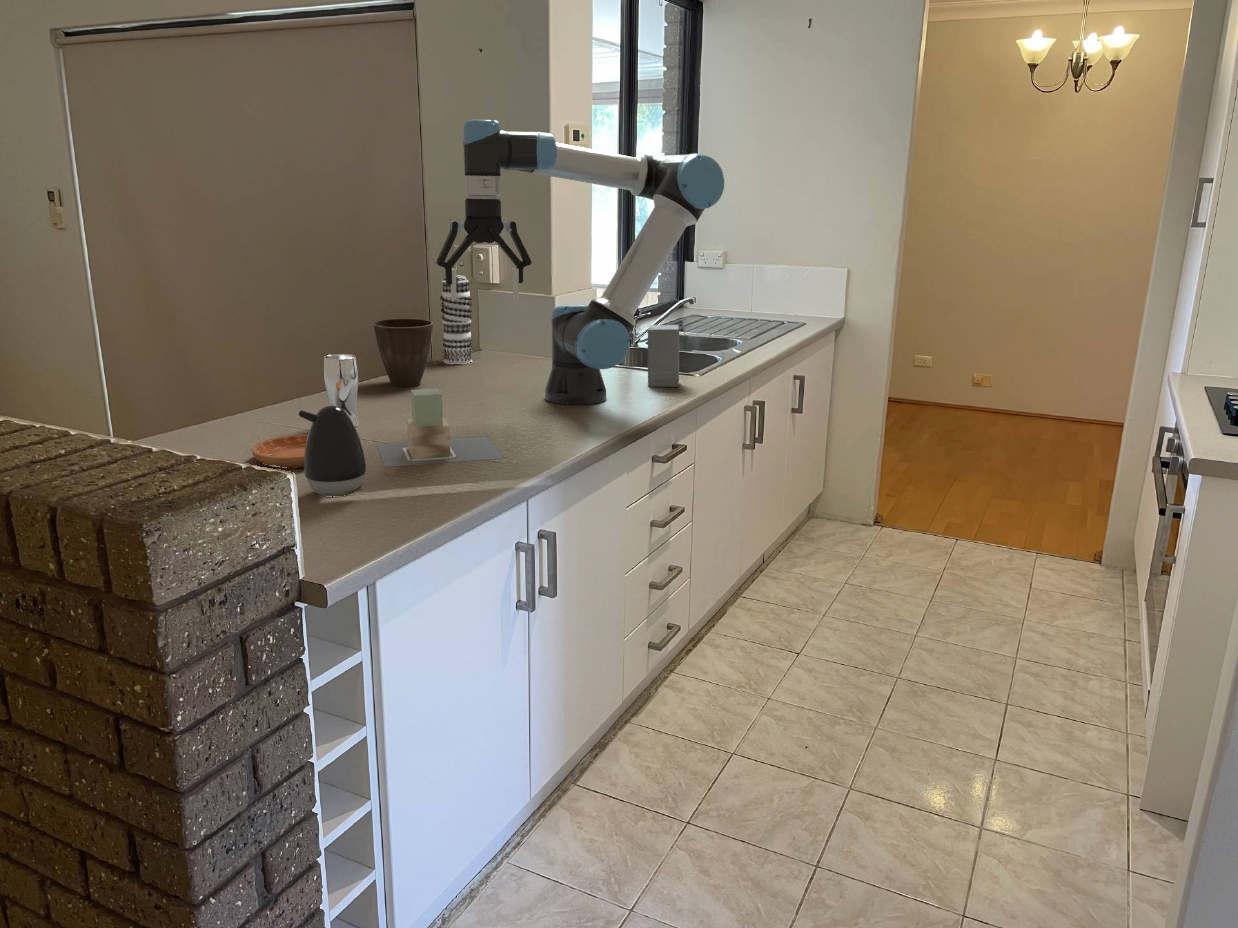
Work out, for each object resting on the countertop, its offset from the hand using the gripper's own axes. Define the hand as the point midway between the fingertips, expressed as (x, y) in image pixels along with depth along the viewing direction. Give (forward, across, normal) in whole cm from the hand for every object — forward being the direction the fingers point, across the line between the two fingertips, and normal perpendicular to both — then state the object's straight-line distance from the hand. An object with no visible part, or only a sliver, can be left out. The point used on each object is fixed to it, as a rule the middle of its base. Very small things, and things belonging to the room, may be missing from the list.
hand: (485, 299), depth 206 cm
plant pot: (+27, -13, +42) cm, 52 cm away
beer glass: (+27, -31, +2) cm, 41 cm away
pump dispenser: (+27, -35, -45) cm, 63 cm away
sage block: (+20, -17, -29) cm, 39 cm away
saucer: (+27, -41, -22) cm, 54 cm away
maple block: (+26, -17, -29) cm, 42 cm away
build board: (+27, -15, -28) cm, 41 cm away
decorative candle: (+27, +5, +70) cm, 75 cm away
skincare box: (+27, +52, +25) cm, 64 cm away
